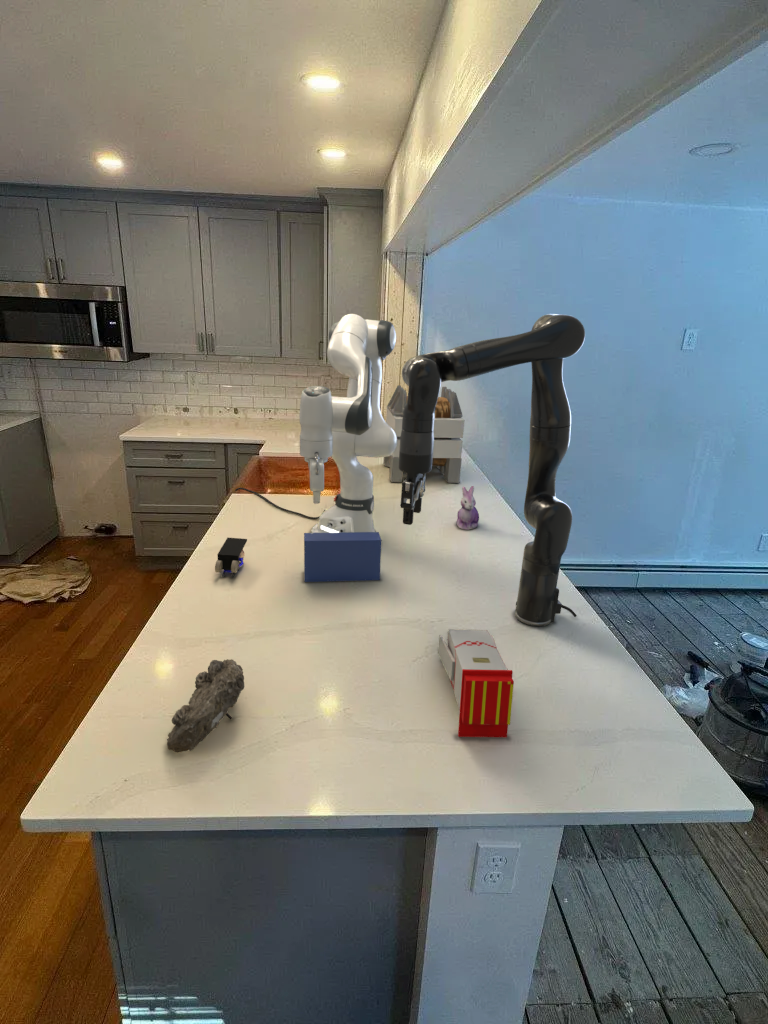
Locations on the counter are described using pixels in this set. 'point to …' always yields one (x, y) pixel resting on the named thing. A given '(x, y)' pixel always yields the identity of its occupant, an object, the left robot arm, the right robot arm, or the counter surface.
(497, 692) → the toy
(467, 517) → the figurine
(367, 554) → the box
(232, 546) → the figurine character
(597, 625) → the counter surface
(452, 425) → the grey boxy piece
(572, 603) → the counter surface
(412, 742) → the counter surface
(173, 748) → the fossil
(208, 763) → the counter surface
